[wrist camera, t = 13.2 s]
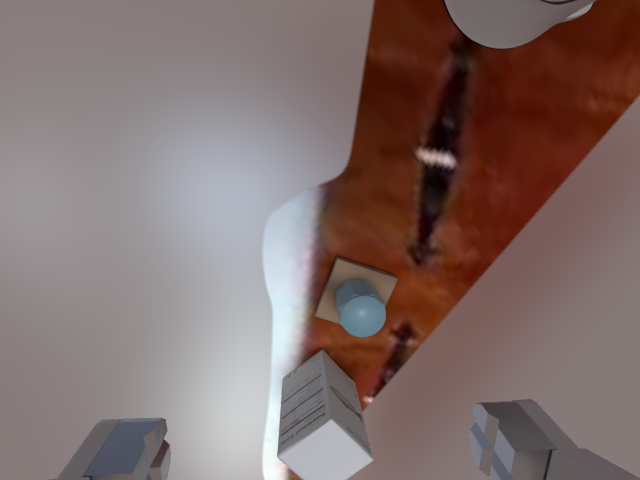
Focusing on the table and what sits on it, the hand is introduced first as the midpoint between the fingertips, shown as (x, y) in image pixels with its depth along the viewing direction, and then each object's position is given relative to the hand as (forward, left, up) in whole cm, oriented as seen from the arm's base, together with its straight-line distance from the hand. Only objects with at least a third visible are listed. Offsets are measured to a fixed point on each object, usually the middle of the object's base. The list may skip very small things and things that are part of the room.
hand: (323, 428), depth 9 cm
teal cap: (+8, +10, -32) cm, 34 cm away
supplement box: (+22, +10, -33) cm, 41 cm away
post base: (+8, +10, -33) cm, 36 cm away
